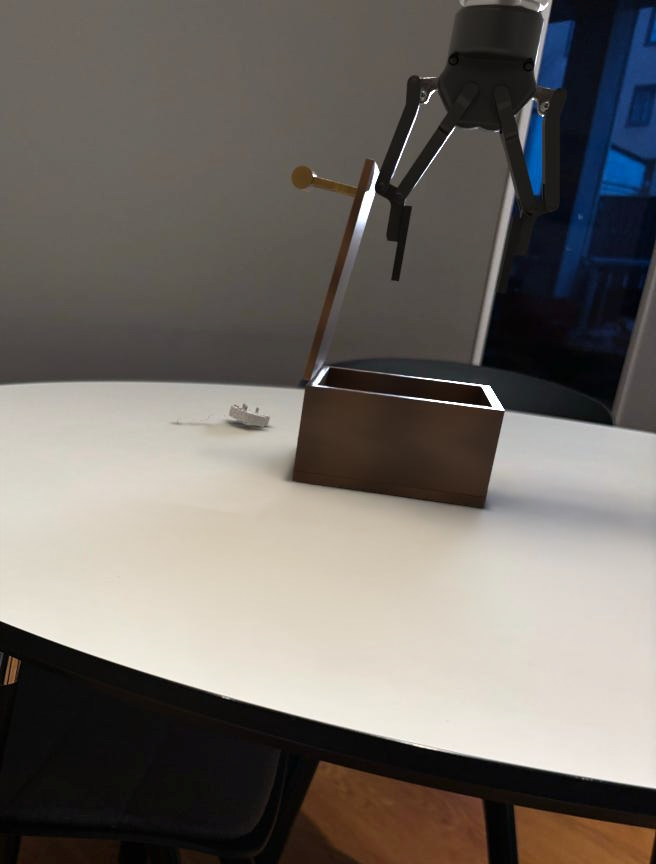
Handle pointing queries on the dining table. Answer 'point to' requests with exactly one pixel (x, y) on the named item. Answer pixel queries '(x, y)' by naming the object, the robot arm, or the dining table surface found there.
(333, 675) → the dining table surface
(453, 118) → the robot arm
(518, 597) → the dining table surface
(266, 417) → the game controller
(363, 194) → the lid
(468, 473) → the chest
